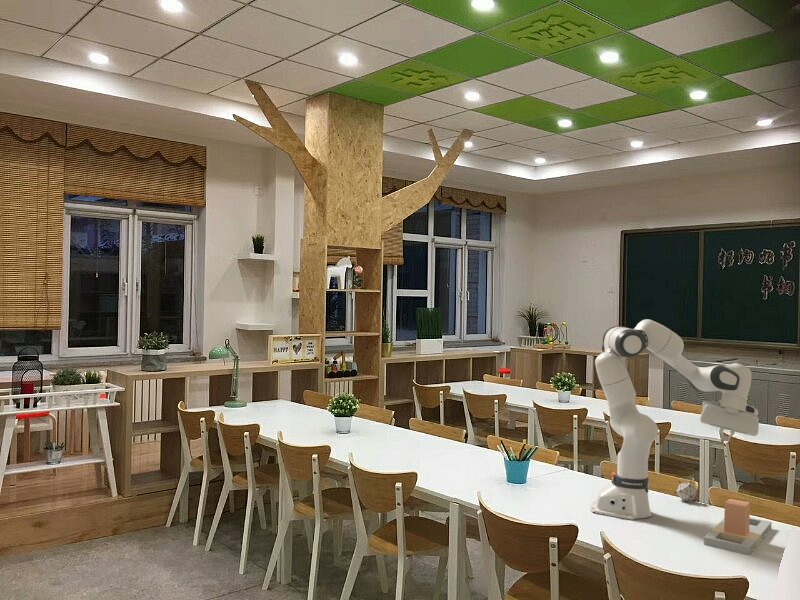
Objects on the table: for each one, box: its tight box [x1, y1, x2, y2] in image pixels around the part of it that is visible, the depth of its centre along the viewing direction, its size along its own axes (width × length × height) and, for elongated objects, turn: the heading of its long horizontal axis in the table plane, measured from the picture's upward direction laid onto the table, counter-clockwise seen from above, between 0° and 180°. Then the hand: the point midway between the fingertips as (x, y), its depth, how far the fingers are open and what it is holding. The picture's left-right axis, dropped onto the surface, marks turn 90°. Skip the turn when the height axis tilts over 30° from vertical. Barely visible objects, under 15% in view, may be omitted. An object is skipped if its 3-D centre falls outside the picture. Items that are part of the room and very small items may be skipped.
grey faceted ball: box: [673, 480, 700, 503], centre depth 276 cm, size 9×8×10 cm
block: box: [723, 498, 751, 536], centre depth 233 cm, size 6×6×10 cm
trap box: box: [703, 517, 772, 556], centre depth 235 cm, size 34×14×2 cm, turn 141°
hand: (725, 440), depth 256 cm, fingers closed
